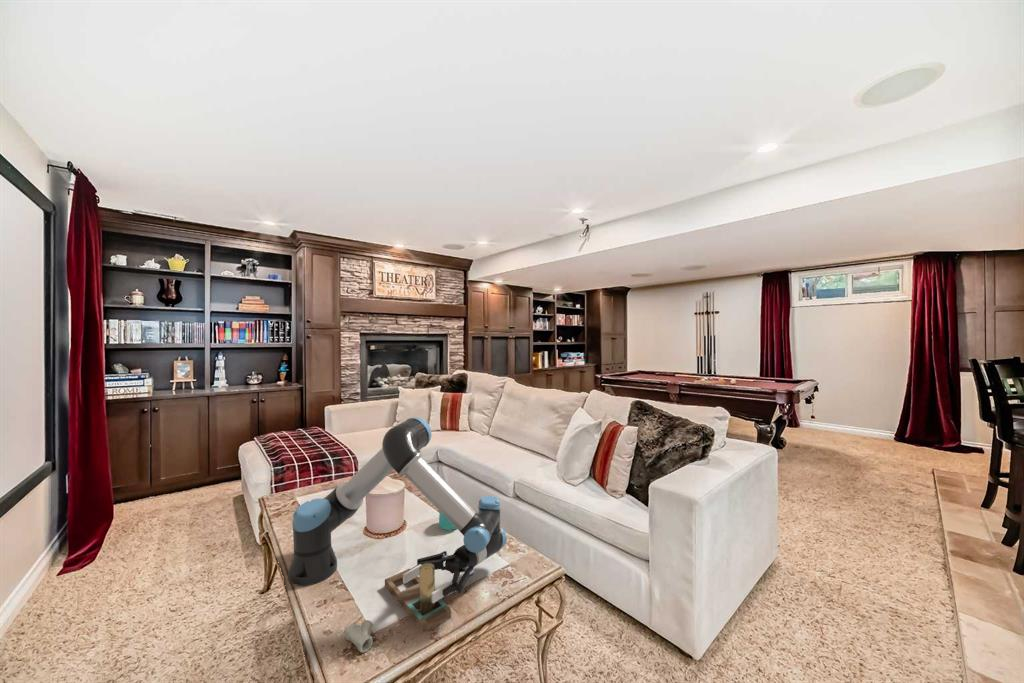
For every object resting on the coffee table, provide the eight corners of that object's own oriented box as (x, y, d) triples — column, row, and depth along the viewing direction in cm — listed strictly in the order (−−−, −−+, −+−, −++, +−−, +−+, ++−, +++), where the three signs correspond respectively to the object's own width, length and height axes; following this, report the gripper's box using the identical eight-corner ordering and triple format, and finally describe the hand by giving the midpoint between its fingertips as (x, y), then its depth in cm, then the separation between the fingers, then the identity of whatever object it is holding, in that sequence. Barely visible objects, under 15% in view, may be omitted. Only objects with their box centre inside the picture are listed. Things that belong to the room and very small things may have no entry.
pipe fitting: (367, 627, 113) (344, 640, 108) (367, 614, 114) (345, 626, 108) (383, 641, 108) (360, 656, 103) (384, 627, 109) (361, 641, 103)
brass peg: (417, 612, 118) (416, 567, 118) (430, 606, 121) (429, 561, 121) (424, 621, 115) (423, 574, 115) (437, 614, 118) (437, 568, 117)
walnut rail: (384, 586, 130) (384, 578, 130) (410, 575, 136) (410, 567, 136) (423, 633, 111) (423, 623, 111) (450, 617, 117) (450, 608, 116)
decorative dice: (458, 530, 166) (458, 512, 165) (439, 530, 166) (438, 511, 166) (461, 521, 174) (460, 503, 173) (442, 521, 174) (442, 503, 174)
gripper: (498, 581, 124) (446, 620, 108) (445, 552, 140) (392, 583, 123) (498, 557, 124) (446, 593, 107) (444, 531, 139) (392, 559, 123)
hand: (417, 588), depth 115 cm, fingers open, 13 cm apart
